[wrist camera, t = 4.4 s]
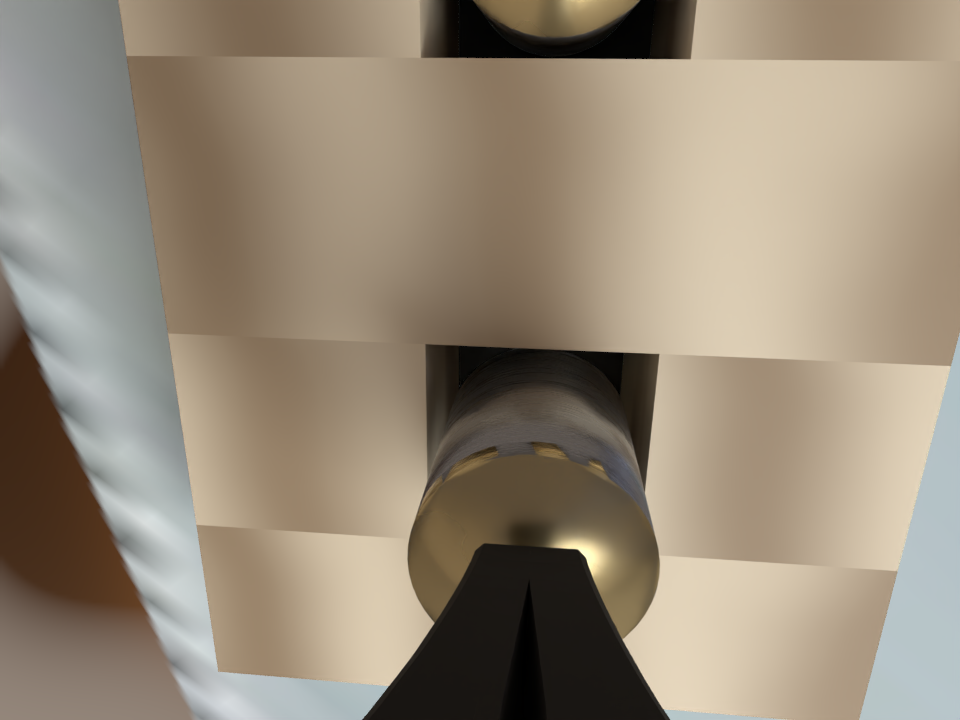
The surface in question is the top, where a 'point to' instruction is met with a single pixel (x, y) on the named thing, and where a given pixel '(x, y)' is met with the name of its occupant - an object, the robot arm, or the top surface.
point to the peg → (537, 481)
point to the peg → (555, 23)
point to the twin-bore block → (559, 308)
